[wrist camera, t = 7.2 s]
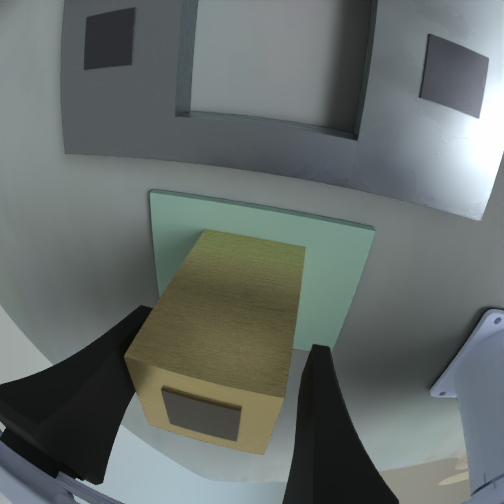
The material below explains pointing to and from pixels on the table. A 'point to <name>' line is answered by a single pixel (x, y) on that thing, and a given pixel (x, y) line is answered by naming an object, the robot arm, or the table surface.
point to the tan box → (221, 341)
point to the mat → (276, 229)
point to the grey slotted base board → (292, 133)
